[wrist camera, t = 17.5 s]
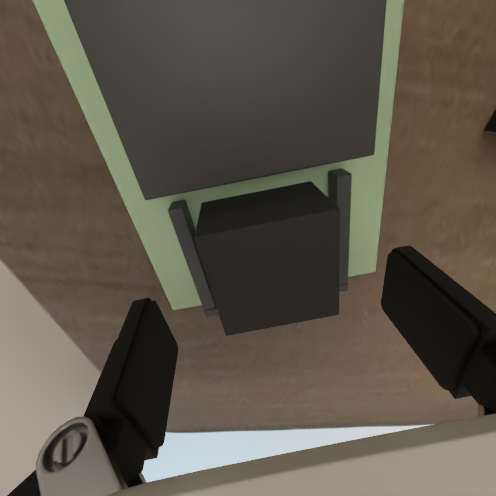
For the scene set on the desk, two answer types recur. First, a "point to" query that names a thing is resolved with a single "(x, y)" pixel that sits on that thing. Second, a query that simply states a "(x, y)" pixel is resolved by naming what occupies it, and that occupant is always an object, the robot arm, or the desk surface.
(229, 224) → the black block
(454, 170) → the desk surface
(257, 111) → the dock
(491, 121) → the portable cd player
